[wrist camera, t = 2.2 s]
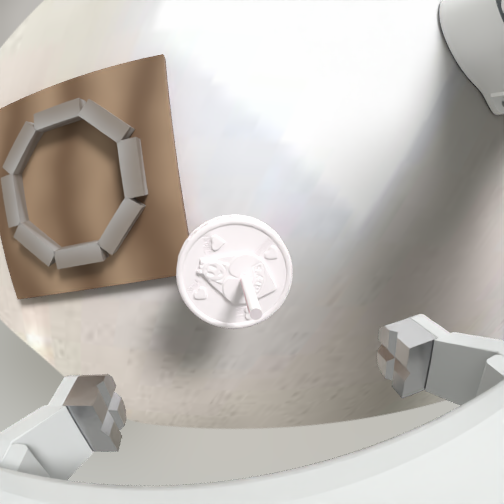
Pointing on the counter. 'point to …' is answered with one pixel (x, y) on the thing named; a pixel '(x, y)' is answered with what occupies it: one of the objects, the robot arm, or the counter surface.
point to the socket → (91, 182)
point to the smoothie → (234, 271)
